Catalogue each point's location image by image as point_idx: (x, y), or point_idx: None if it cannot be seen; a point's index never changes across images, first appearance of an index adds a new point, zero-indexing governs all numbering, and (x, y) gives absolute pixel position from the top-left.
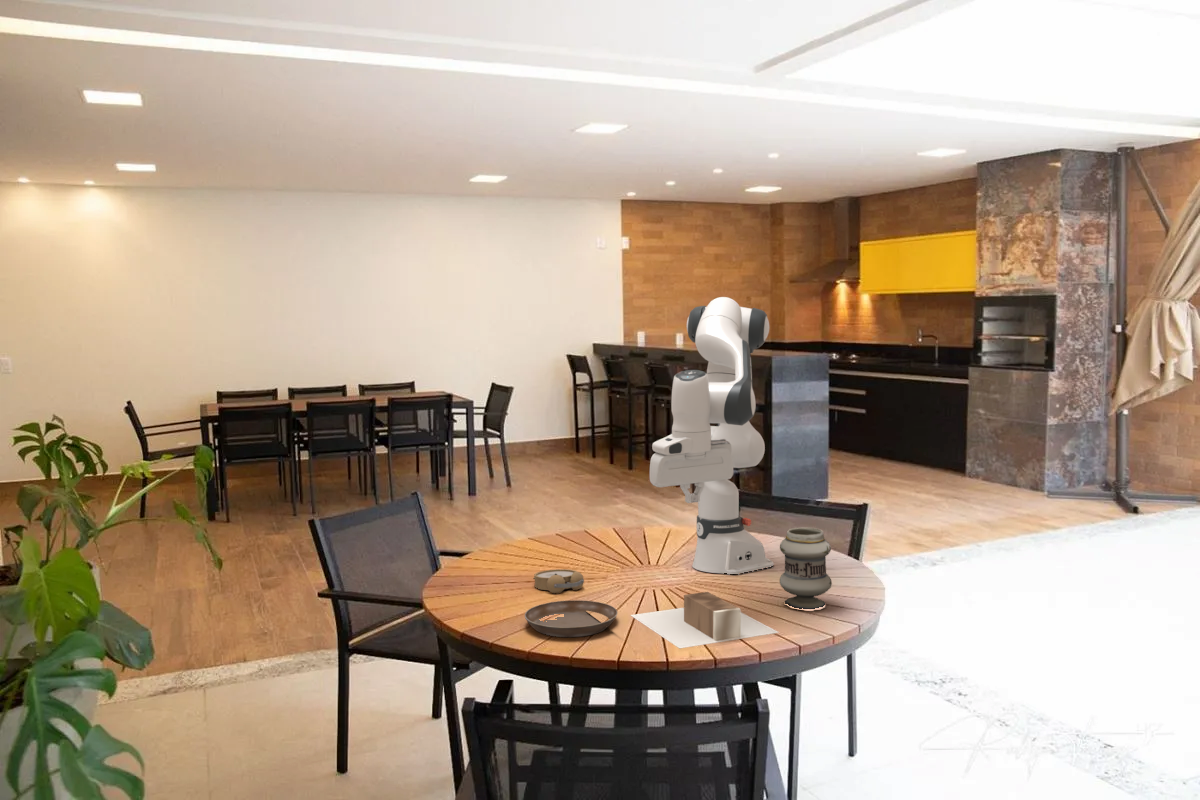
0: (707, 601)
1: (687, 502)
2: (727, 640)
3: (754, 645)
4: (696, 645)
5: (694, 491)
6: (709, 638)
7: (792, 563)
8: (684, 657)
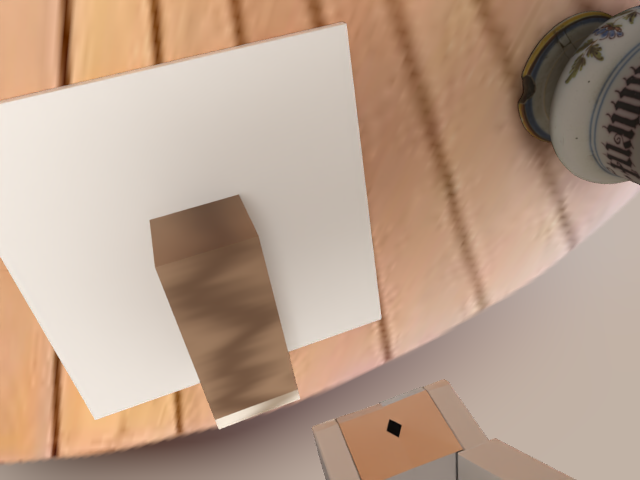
0: (223, 339)
1: (318, 451)
2: None
3: (296, 366)
4: (146, 401)
5: (478, 469)
6: None
7: (634, 162)
8: (103, 438)
